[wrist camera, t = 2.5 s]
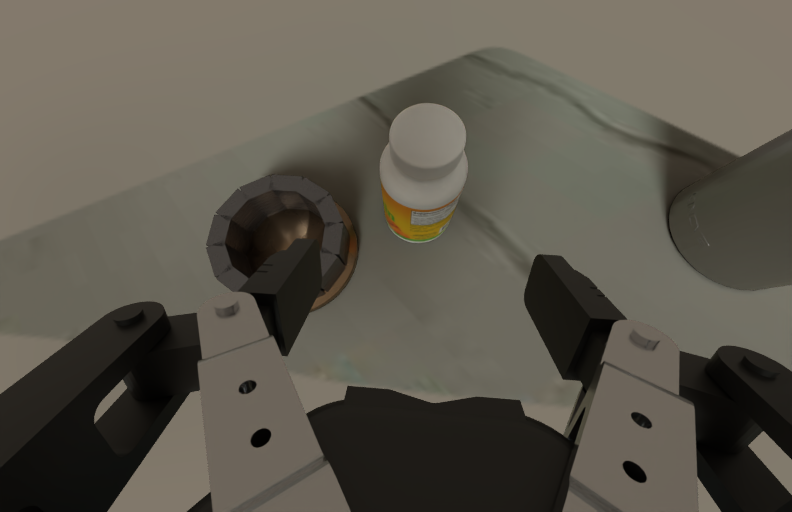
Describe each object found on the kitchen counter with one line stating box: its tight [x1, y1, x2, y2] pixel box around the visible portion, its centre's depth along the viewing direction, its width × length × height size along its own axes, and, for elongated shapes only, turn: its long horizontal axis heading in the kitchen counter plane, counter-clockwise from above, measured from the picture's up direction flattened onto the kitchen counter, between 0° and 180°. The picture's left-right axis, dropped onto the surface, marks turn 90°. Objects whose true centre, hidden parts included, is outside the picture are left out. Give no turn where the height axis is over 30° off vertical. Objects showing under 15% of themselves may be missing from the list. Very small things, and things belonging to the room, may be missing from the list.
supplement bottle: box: [380, 103, 468, 243], centre depth 20 cm, size 5×5×10 cm
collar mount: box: [206, 175, 358, 313], centre depth 22 cm, size 10×10×4 cm
